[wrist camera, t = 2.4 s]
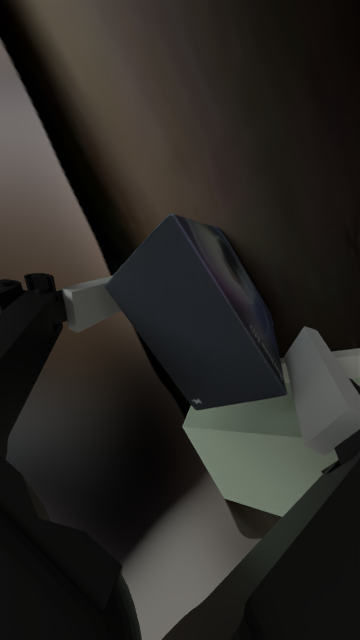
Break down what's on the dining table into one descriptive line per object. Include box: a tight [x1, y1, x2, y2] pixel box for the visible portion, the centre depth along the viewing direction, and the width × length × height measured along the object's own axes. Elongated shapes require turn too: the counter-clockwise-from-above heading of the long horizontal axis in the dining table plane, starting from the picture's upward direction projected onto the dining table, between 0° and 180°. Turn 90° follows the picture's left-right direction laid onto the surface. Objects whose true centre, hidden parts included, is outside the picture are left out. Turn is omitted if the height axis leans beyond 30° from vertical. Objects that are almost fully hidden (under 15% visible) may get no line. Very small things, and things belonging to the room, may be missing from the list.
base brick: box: [183, 379, 360, 517], centre depth 18 cm, size 13×17×6 cm
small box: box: [104, 213, 287, 411], centre depth 13 cm, size 11×6×10 cm, turn 37°
